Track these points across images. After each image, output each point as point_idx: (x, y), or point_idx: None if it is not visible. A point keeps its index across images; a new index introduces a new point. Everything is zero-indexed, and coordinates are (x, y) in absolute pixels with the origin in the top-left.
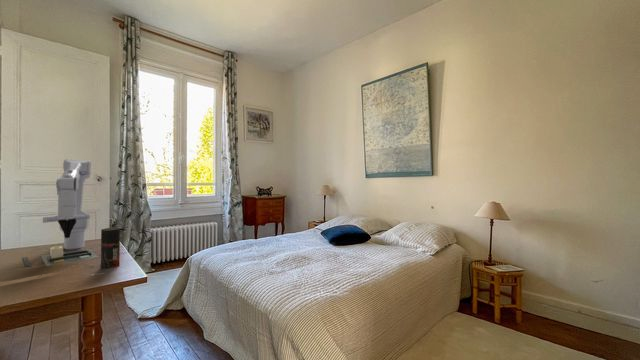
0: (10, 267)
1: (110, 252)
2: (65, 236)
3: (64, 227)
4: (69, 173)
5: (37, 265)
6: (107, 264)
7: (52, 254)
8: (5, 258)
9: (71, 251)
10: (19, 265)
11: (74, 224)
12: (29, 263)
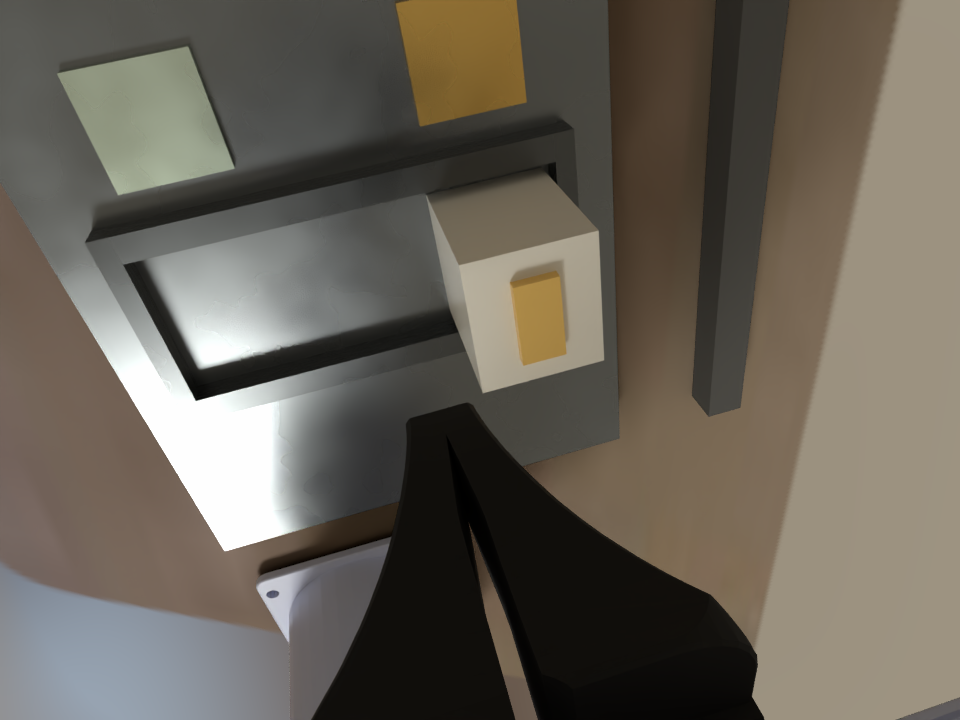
0: (827, 194)
1: None
2: (477, 415)
3: (567, 553)
4: None
5: (648, 131)
6: None
7: (557, 199)
8: (787, 502)
9: (376, 481)
10: (764, 232)
11: (344, 671)
12: (739, 110)
